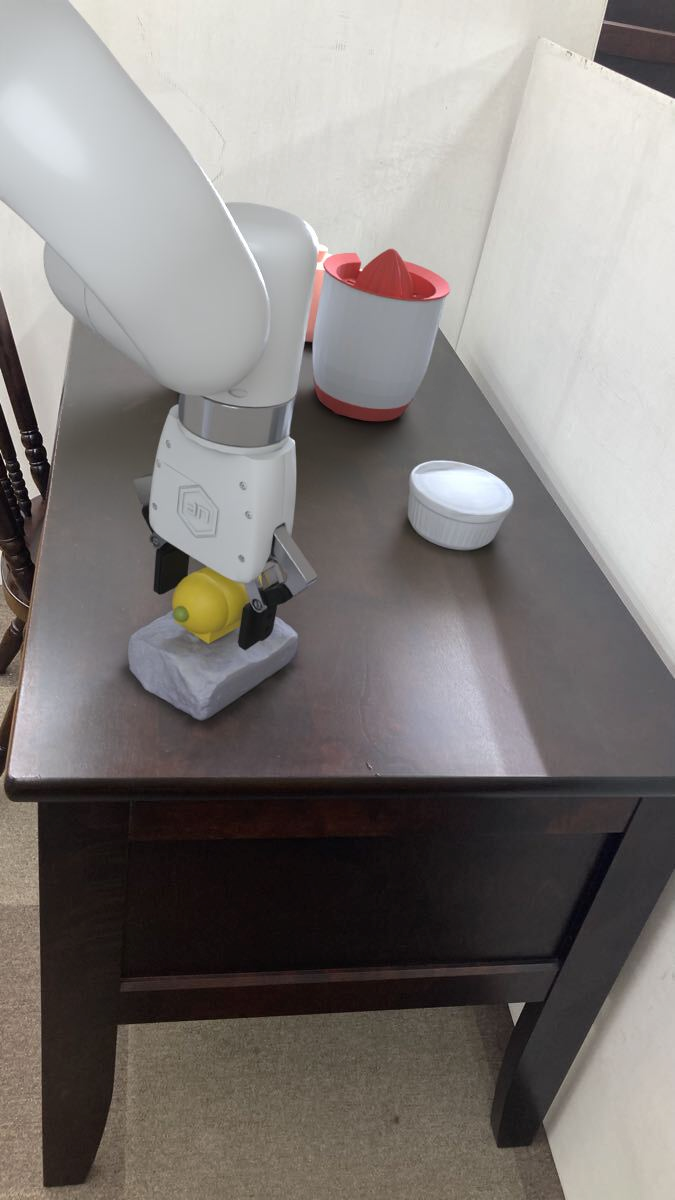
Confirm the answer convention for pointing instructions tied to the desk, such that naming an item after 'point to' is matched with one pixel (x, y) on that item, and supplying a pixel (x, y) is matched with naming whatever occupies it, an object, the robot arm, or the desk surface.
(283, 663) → the stone block
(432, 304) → the citrus juicer
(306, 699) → the desk surface
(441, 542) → the ramekin
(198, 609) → the lemon
